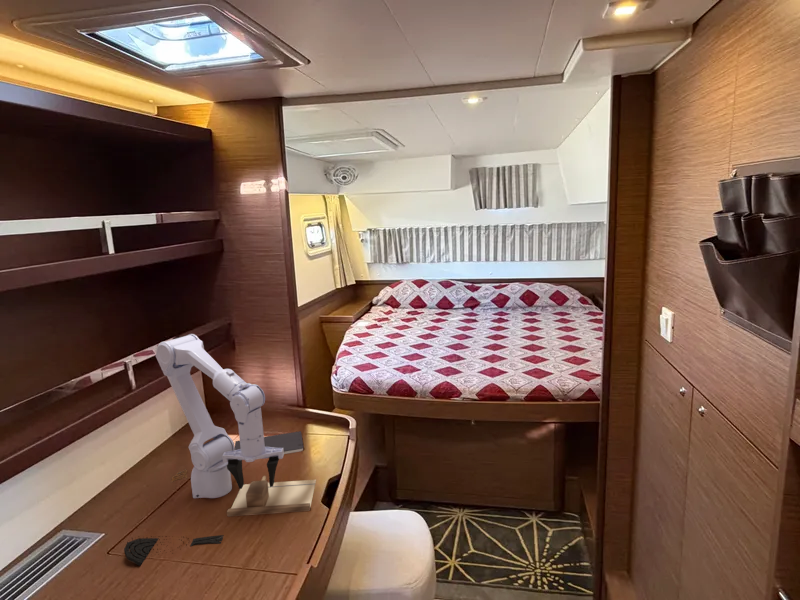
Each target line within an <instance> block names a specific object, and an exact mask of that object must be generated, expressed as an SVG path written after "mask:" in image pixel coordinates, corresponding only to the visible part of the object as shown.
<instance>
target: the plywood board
mask: <svg viewBox="0 0 800 600" xmlns="http://www.w3.org/2000/svg"><path fill="white" fill-rule="evenodd" d="M316 481H317V479H306V480H305V479H304V480H292V481H291V480H290V481H276V482H275V481H274V485H273V486H271V487H270V484H269V482H268V492H269V497H268V500H267V503H266V505H265V506H262V507H247V502H246V493H247V491H248V488H249V486H250V484H251V483H248V484H247V483H246V484H245V483H244V485H243V487H242V489H239V491H238V492H237V495H236V497H235V499H234V501H233V503H232V506H231V508H228V509H227V511H226V516H227V517H238V516H239V517H240V516H252V515H253V516H254V515H255V516H256V515H266V514H269V515H270V514H281V513H283V514H284V513H292V512H293V513H294V512H296V513H297V512H309V511H310V510H311V506H312V502H313V501H312V500H313V496H314V492H315V488H316V483H317V482H316Z"/></svg>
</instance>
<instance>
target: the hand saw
mask: <svg viewBox="0 0 800 600" xmlns="http://www.w3.org/2000/svg"><path fill="white" fill-rule="evenodd" d="M186 469H187V468H185V470H184V469H183V470H182V471H177V472H176V475H173V476H172V477H171V480H170V483H171V484H172V483H174V482H175V481H180V480H182V479H184V477H185V478H186V479H188V476H187V473H188V469H187V470H186ZM183 474H184V475H183ZM176 476H177V477H176Z"/></svg>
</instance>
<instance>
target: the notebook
mask: <svg viewBox="0 0 800 600" xmlns="http://www.w3.org/2000/svg"><path fill="white" fill-rule="evenodd" d="M264 443H265V447H274V448H283V450H284V455H286V454H293V453H298V452H303V451H304V443H303V436H302V431H294V432H287V433H280V434H274V435H268V436H264ZM234 446H235V450H238V449H241V447H240V440H235V441H234Z"/></svg>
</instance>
